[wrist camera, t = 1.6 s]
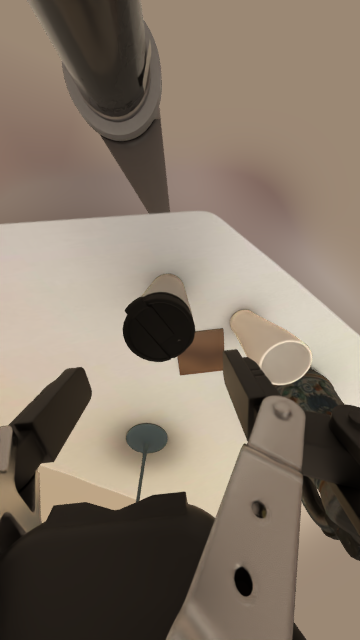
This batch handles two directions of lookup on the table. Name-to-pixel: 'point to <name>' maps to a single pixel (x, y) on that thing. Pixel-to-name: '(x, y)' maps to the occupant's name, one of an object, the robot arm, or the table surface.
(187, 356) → the coaster
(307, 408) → the beer stein
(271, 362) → the drinking glass
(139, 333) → the travel mug
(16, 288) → the table surface
